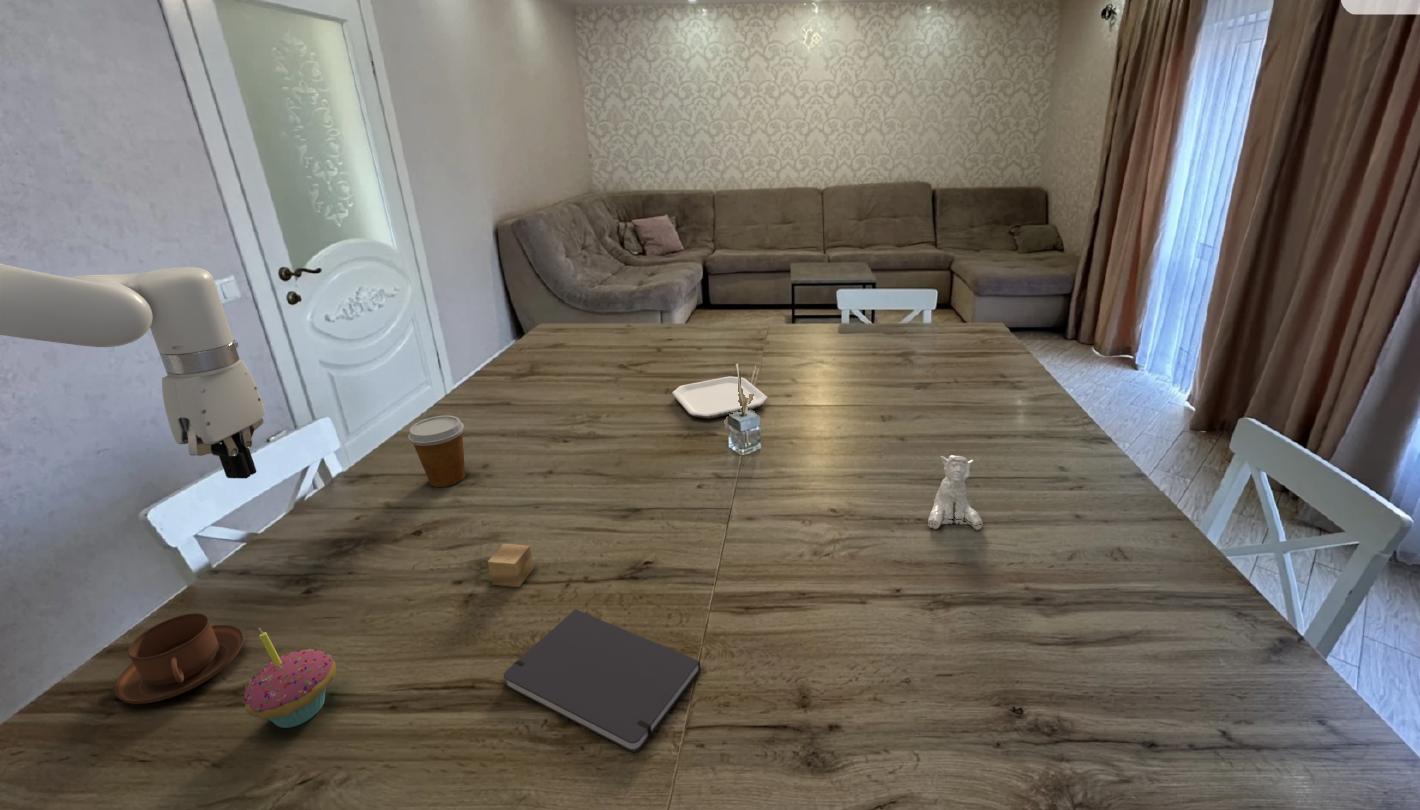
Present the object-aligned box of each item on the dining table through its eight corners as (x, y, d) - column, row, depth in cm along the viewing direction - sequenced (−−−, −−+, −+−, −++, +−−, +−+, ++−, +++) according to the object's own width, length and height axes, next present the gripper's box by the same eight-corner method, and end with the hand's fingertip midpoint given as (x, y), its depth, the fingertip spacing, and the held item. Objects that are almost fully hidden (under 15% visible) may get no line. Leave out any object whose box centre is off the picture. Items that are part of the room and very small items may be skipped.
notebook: (700, 670, 79) (576, 617, 87) (700, 661, 78) (575, 608, 87) (636, 755, 68) (502, 684, 77) (635, 745, 67) (500, 675, 76)
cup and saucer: (266, 654, 81) (251, 617, 79) (147, 728, 71) (126, 689, 69) (219, 625, 86) (204, 590, 84) (102, 690, 76) (81, 652, 74)
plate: (668, 395, 161) (668, 387, 160) (740, 381, 170) (740, 373, 169) (695, 426, 144) (694, 418, 143) (773, 408, 153) (773, 400, 152)
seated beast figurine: (928, 530, 106) (933, 470, 102) (919, 502, 114) (924, 445, 110) (982, 531, 106) (990, 471, 102) (970, 503, 114) (977, 446, 110)
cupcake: (237, 731, 71) (202, 652, 67) (310, 673, 78) (283, 598, 74) (292, 751, 69) (258, 671, 64) (361, 689, 76) (336, 614, 72)
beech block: (519, 587, 93) (514, 564, 92) (492, 585, 94) (487, 561, 92) (534, 568, 97) (529, 545, 96) (508, 566, 98) (503, 543, 96)
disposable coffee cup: (480, 479, 122) (468, 426, 118) (426, 497, 116) (412, 441, 112) (466, 461, 129) (455, 410, 125) (415, 477, 123) (401, 424, 119)
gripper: (223, 341, 91) (259, 451, 97) (117, 378, 77) (167, 503, 83) (273, 342, 91) (306, 451, 97) (176, 378, 77) (221, 504, 83)
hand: (242, 475), depth 90 cm, fingers closed
